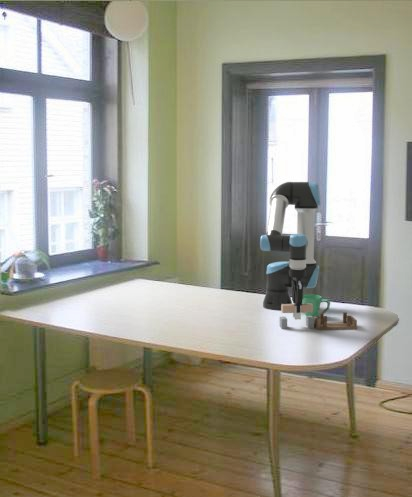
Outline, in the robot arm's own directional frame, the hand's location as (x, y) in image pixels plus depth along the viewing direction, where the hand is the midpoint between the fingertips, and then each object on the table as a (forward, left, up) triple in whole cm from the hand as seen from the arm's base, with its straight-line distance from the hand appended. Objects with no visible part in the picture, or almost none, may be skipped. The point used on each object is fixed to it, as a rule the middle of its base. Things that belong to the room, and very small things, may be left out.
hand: (296, 318), depth 332 cm
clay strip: (0, 0, +3) cm, 3 cm away
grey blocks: (+1, 0, -4) cm, 4 cm away
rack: (+3, +17, -4) cm, 18 cm away
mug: (-17, +13, -4) cm, 22 cm away
